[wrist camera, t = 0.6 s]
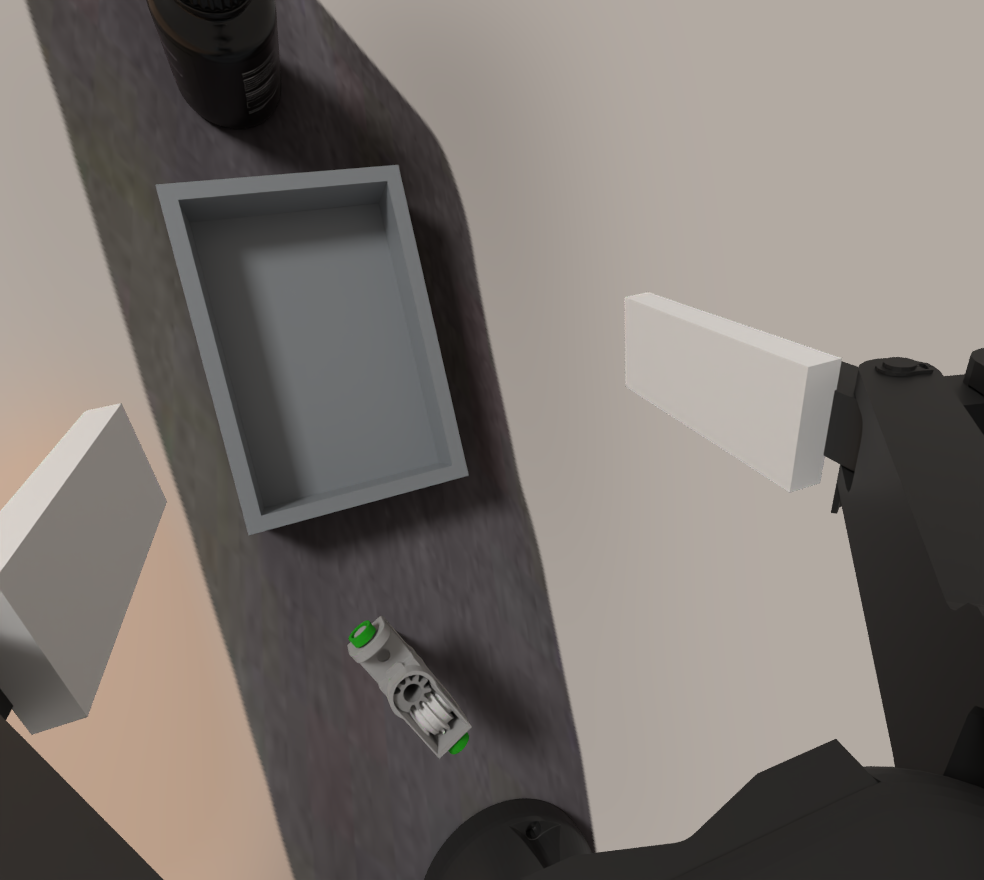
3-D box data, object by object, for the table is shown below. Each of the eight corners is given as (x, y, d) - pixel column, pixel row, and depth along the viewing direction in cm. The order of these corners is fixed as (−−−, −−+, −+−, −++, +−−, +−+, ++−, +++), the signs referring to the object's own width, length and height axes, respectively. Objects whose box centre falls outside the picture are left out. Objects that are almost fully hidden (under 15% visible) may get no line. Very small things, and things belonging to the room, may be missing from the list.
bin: (450, 470, 46) (468, 475, 41) (254, 523, 41) (248, 535, 36) (386, 193, 44) (398, 164, 39) (172, 214, 39) (155, 184, 34)
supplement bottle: (262, 28, 40) (250, -128, 29) (294, 125, 41) (294, 10, 30) (158, 37, 38) (102, -128, 27) (193, 139, 39) (153, 20, 28)
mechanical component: (362, 577, 43) (380, 618, 34) (442, 670, 46) (481, 733, 36) (330, 604, 43) (340, 654, 33) (413, 698, 45) (445, 769, 35)
